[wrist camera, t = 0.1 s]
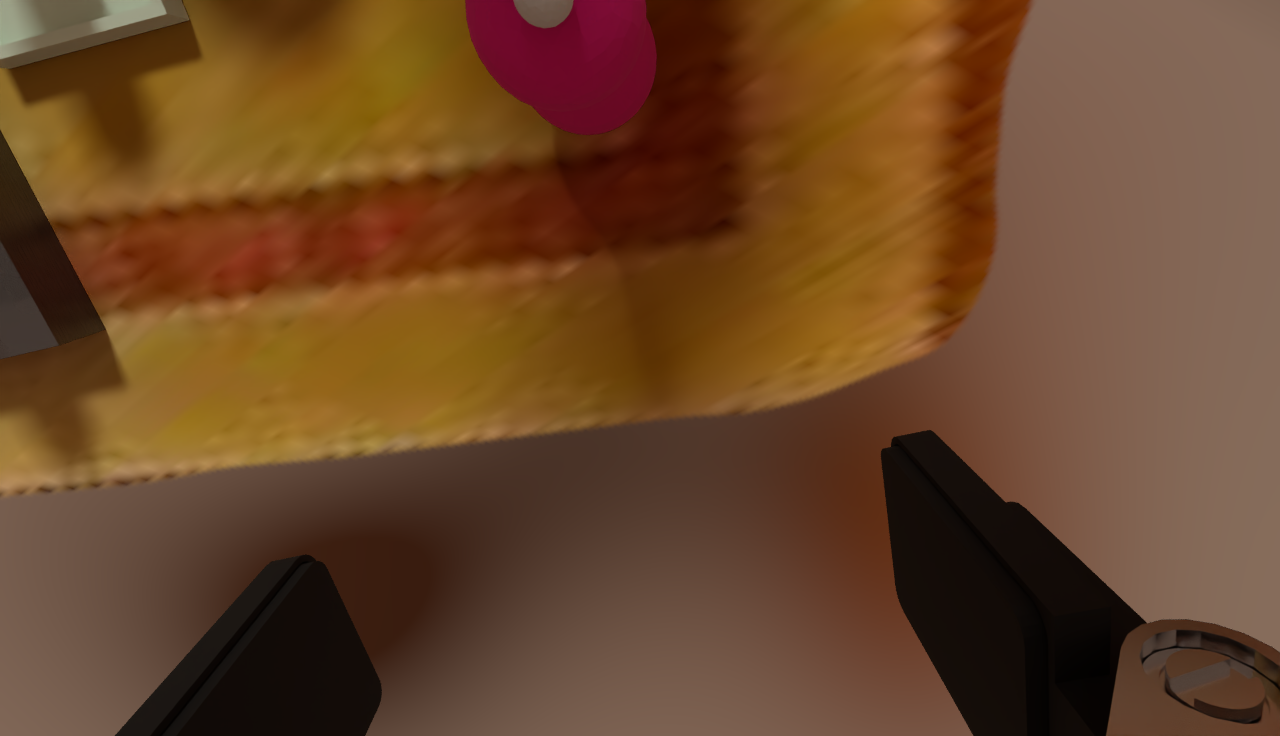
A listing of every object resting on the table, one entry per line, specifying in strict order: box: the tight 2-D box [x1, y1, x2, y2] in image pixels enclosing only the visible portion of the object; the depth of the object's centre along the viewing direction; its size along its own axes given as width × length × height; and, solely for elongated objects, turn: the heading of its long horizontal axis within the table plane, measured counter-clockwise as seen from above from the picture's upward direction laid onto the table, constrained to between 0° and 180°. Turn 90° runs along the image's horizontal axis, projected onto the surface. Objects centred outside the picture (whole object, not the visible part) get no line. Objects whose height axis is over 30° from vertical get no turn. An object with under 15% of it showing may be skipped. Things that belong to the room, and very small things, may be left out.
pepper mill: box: [465, 0, 657, 135], centre depth 27 cm, size 7×7×20 cm
